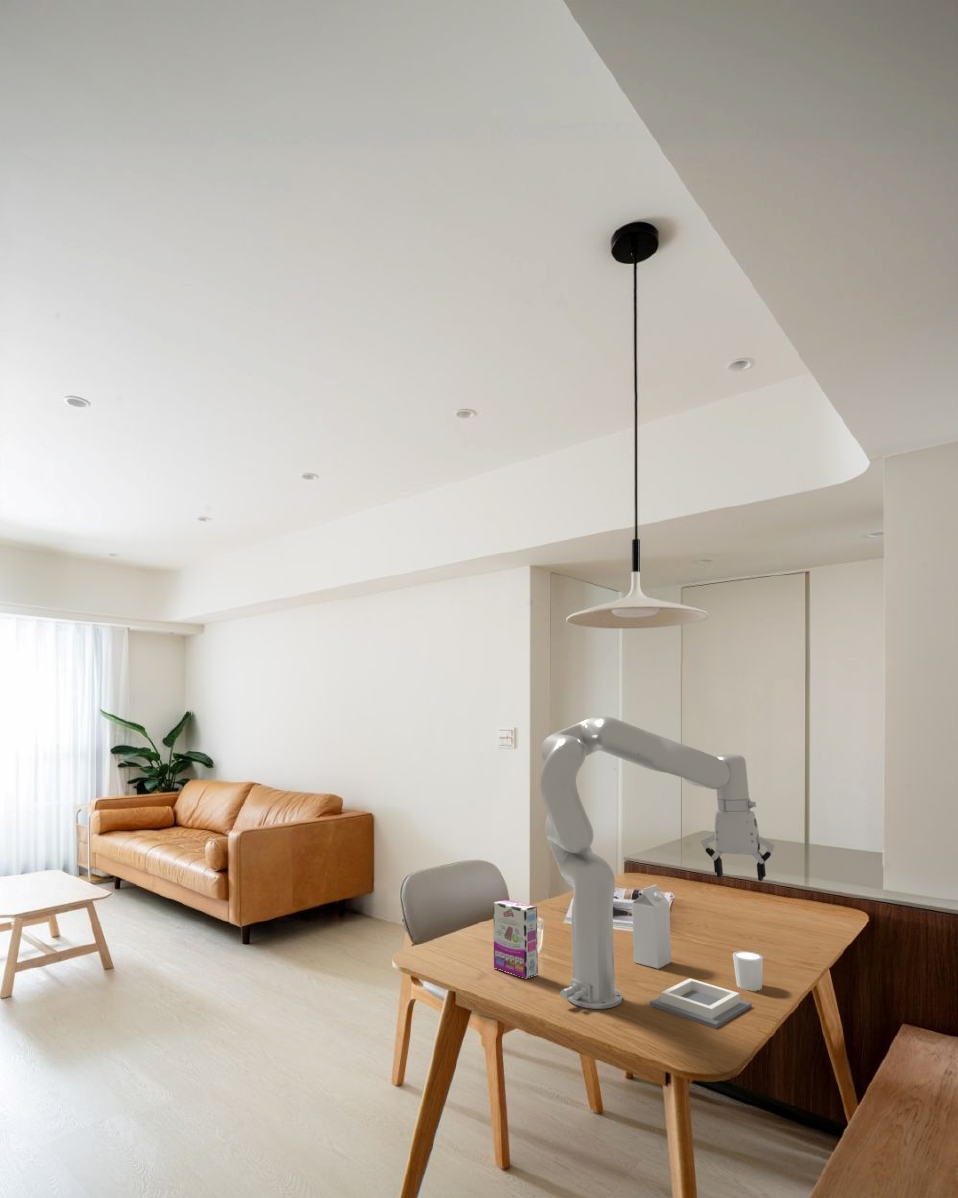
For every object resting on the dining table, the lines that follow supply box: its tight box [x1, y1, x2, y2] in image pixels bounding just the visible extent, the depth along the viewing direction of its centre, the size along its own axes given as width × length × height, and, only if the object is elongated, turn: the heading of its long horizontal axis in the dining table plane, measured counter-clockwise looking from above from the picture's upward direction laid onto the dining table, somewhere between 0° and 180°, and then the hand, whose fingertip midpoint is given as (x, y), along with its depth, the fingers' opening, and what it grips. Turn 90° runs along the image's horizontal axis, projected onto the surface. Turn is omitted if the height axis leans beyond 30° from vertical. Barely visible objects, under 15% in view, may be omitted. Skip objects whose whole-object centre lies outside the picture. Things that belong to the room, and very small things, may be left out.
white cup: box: [732, 950, 764, 992], centre depth 172 cm, size 7×7×7 cm
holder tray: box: [649, 978, 753, 1029], centre depth 160 cm, size 16×16×3 cm
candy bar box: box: [493, 899, 539, 979], centre depth 182 cm, size 11×5×16 cm, turn 46°
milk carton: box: [631, 884, 672, 970], centre depth 189 cm, size 7×7×19 cm
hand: (740, 878), depth 175 cm, fingers open, 9 cm apart
